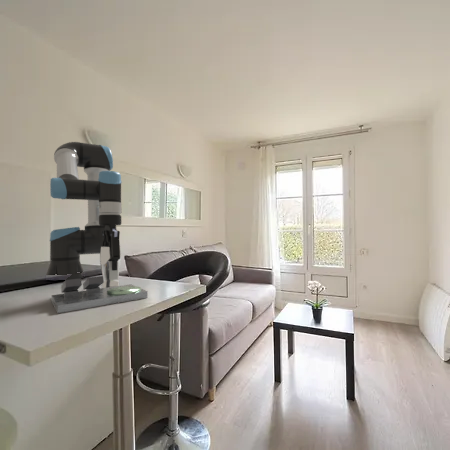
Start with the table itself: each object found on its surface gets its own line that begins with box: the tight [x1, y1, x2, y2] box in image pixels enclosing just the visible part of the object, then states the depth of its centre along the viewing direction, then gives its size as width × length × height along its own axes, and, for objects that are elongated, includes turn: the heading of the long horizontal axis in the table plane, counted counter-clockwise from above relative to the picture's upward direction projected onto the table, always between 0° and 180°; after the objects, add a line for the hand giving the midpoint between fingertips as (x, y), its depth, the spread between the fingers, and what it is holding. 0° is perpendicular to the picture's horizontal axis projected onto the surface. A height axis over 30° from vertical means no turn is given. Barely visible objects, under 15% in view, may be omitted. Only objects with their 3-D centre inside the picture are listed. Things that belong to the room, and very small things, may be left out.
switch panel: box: [50, 284, 148, 314], centre depth 82 cm, size 15×24×3 cm, turn 128°
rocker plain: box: [82, 275, 104, 291], centre depth 83 cm, size 9×4×2 cm, turn 38°
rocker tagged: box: [60, 278, 83, 294], centre depth 80 cm, size 9×4×2 cm, turn 38°
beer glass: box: [99, 246, 122, 288], centre depth 96 cm, size 7×7×15 cm
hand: (110, 277), depth 96 cm, fingers closed on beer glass, 7 cm apart
